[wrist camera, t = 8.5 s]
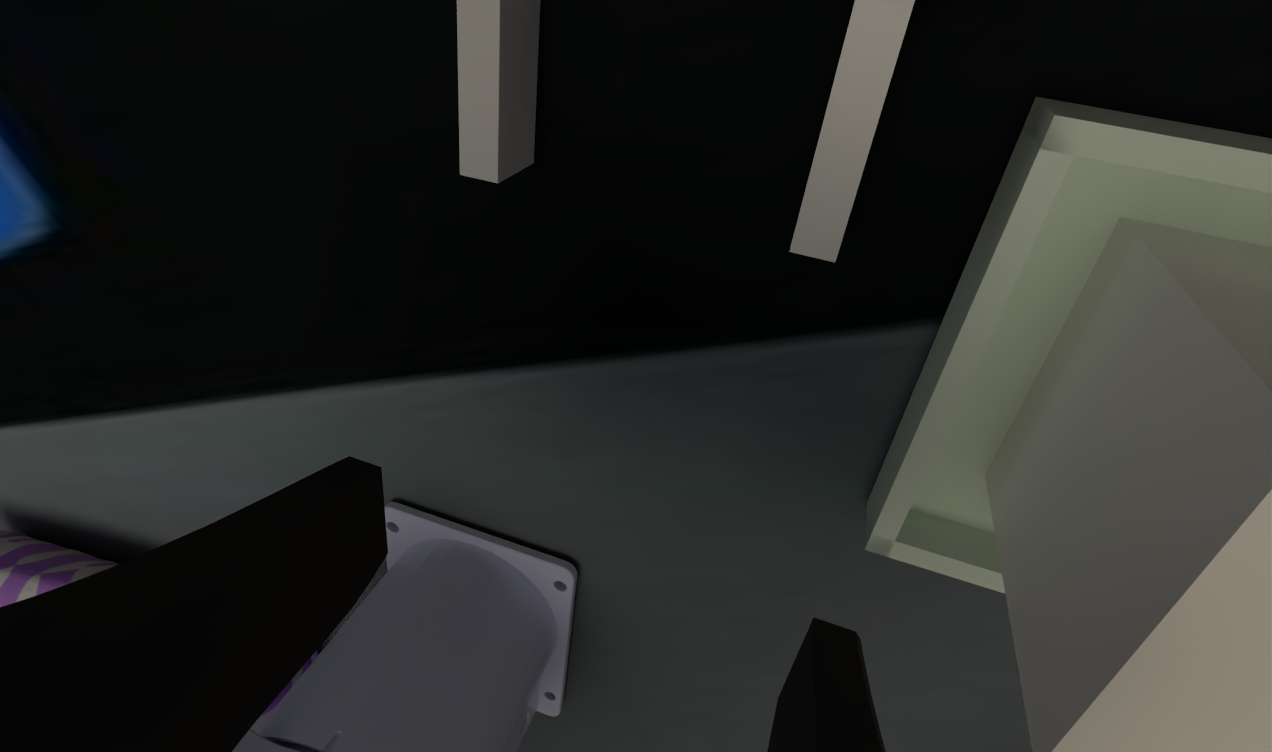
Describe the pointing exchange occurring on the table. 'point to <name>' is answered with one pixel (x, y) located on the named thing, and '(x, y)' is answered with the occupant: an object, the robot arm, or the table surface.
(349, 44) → the table surface
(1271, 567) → the taupe rectangular block
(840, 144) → the dock
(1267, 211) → the tray
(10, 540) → the pencil case
